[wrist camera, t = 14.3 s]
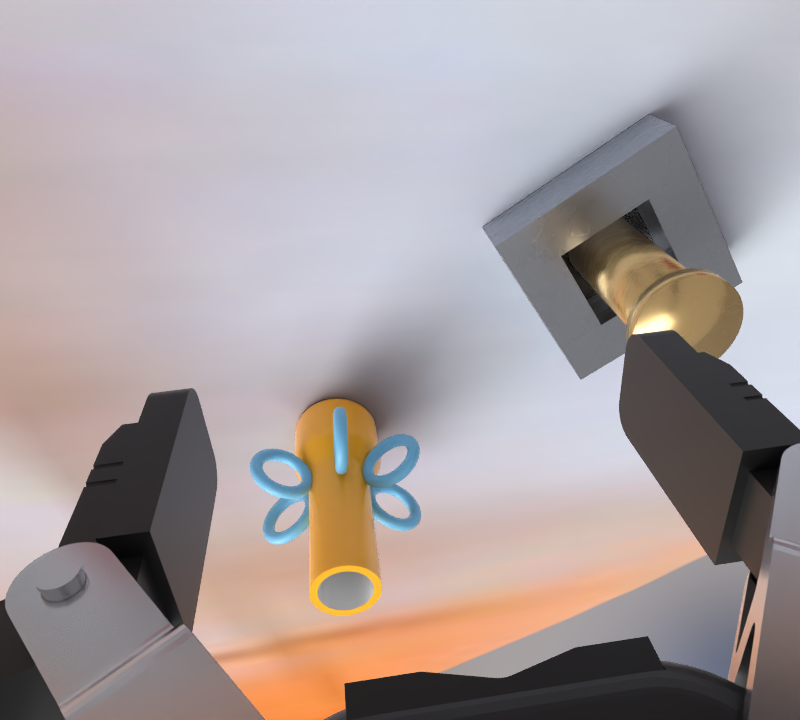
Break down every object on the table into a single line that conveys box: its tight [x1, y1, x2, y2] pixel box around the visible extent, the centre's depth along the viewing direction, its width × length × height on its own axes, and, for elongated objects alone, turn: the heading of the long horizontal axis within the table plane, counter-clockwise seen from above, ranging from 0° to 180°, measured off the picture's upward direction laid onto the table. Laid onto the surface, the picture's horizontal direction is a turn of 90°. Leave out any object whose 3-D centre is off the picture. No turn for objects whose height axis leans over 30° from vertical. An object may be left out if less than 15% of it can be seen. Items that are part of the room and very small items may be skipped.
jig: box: [482, 114, 742, 379], centre depth 43 cm, size 12×12×4 cm
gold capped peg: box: [568, 217, 743, 358], centre depth 39 cm, size 6×6×12 cm
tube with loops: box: [250, 398, 421, 616], centre depth 43 cm, size 12×10×15 cm
